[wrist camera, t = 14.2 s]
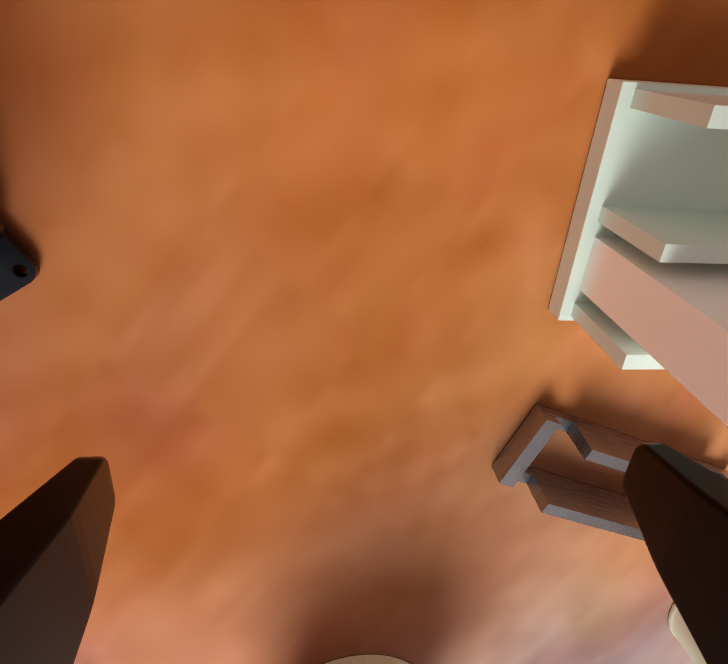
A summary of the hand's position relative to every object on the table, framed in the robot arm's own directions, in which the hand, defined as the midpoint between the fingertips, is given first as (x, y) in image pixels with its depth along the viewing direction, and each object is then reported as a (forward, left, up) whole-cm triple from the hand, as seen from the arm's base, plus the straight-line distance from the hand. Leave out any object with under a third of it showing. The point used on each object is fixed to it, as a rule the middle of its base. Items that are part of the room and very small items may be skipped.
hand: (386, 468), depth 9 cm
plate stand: (+6, -19, -13) cm, 24 cm away
